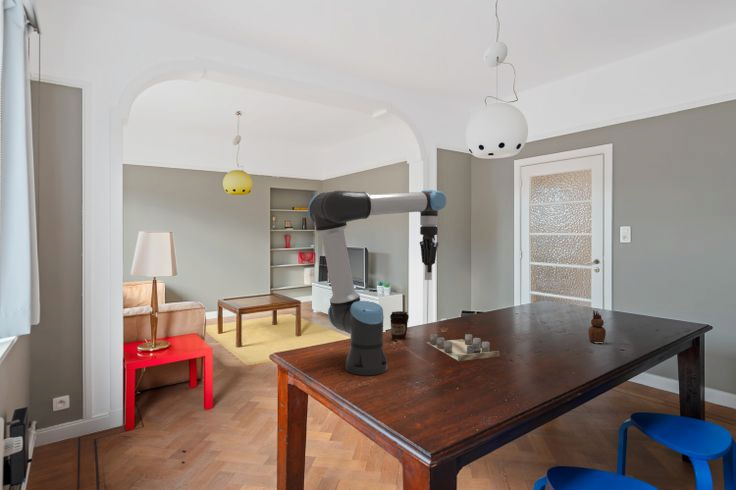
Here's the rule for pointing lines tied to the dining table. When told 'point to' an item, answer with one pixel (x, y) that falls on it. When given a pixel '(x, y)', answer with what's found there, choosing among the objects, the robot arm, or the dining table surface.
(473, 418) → the dining table surface
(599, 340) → the wooden figurine
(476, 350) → the nut
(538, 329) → the dining table surface
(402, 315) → the coffee cup
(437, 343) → the board
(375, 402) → the dining table surface
